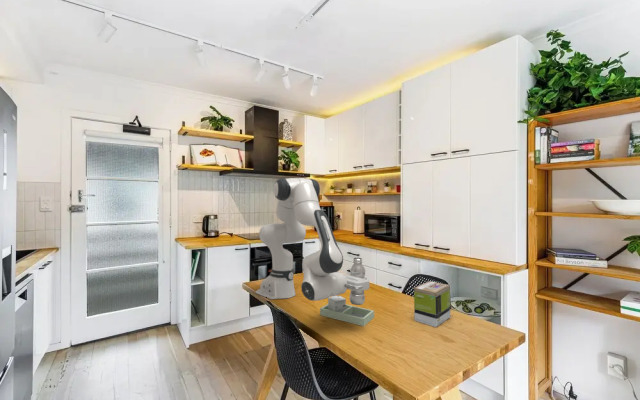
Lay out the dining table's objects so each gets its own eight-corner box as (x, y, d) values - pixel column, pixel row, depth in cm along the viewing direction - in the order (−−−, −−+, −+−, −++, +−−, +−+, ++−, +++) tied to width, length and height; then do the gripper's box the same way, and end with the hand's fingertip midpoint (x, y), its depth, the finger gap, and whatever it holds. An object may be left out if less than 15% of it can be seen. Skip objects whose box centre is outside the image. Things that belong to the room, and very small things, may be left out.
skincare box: (334, 317, 131) (334, 300, 131) (327, 312, 136) (327, 296, 136) (345, 315, 134) (346, 298, 134) (339, 310, 139) (339, 294, 139)
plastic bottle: (348, 301, 132) (348, 257, 132) (363, 301, 133) (363, 257, 133) (351, 306, 126) (351, 259, 126) (366, 306, 126) (367, 259, 127)
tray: (320, 315, 133) (320, 308, 133) (332, 307, 143) (332, 301, 143) (363, 326, 122) (363, 319, 122) (374, 317, 131) (374, 310, 131)
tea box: (429, 311, 139) (429, 280, 139) (451, 318, 131) (451, 284, 131) (413, 320, 128) (413, 286, 128) (436, 328, 121) (436, 291, 121)
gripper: (356, 280, 113) (378, 275, 122) (320, 271, 128) (342, 266, 137) (356, 297, 113) (378, 290, 122) (320, 285, 128) (342, 280, 137)
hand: (359, 277), depth 130 cm, fingers closed on plastic bottle, 6 cm apart
